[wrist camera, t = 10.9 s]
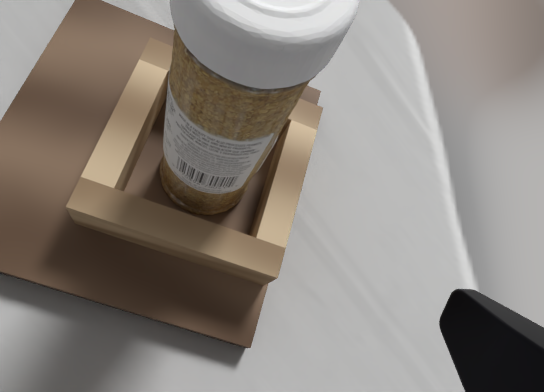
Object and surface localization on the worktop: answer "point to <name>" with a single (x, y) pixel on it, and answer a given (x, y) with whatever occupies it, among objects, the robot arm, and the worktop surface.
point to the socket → (135, 185)
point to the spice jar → (238, 88)
